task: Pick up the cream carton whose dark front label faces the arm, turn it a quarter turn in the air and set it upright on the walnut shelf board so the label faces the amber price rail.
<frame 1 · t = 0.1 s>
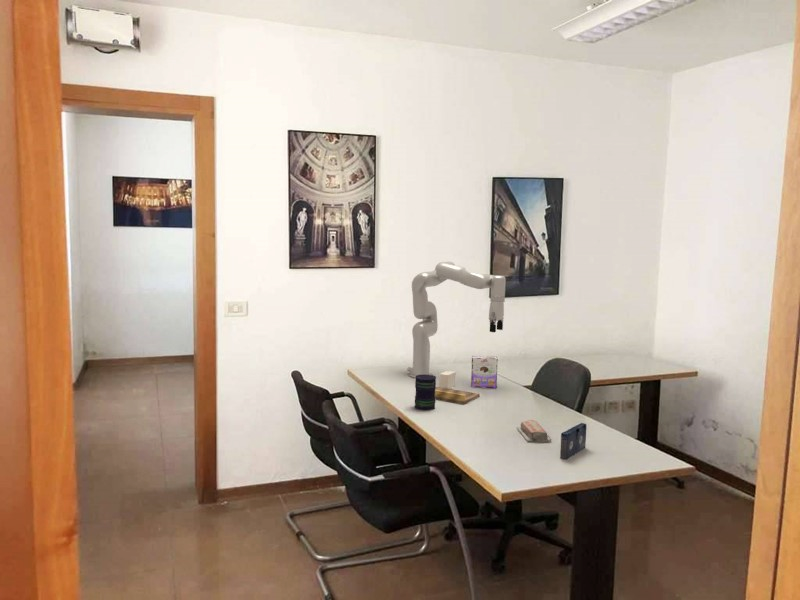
hand: (496, 330, 345), 31 cm above the table, tool pointing down, fingers open, 9 cm apart
vhs cassette tape: (572, 453, 251), on the table
candy box: (483, 386, 352), on the table
packaged product: (533, 436, 271), on the table
shelf board: (450, 396, 329), on the table
storage jar: (424, 408, 308), on the table
cream carton: (447, 387, 348), on the table
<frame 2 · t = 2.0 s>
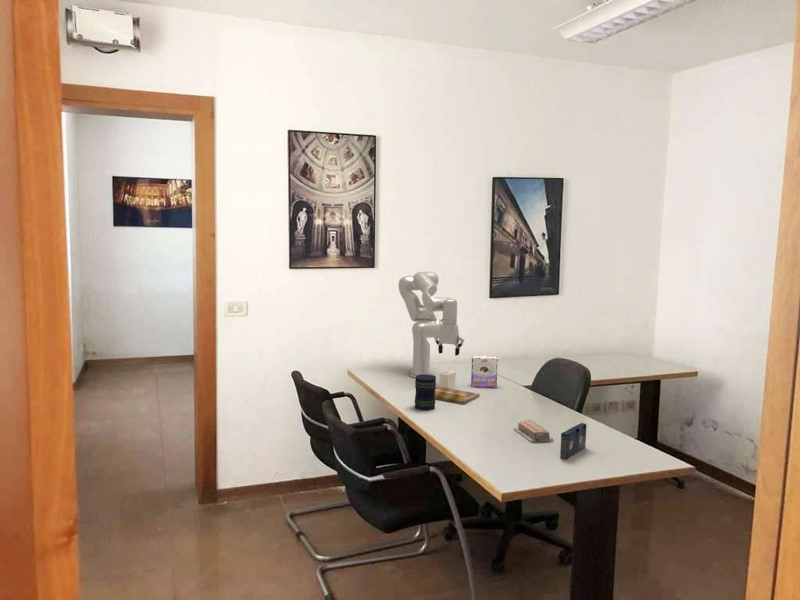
hand: (448, 354, 345), 18 cm above the table, tool pointing down, fingers open, 9 cm apart
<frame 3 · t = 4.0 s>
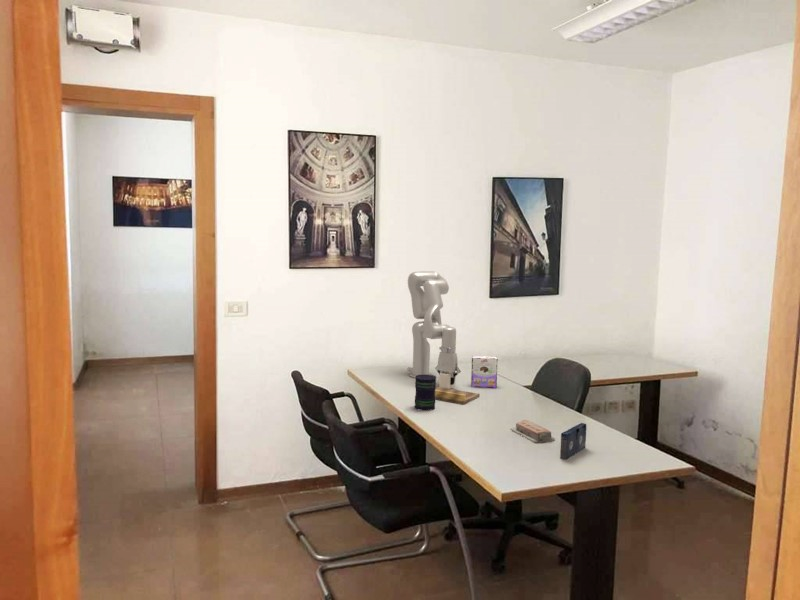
hand: (447, 383, 347), 2 cm above the table, tool pointing down, fingers closed on cream carton, 5 cm apart
cream carton: (447, 387, 347), on the table, touching gripper
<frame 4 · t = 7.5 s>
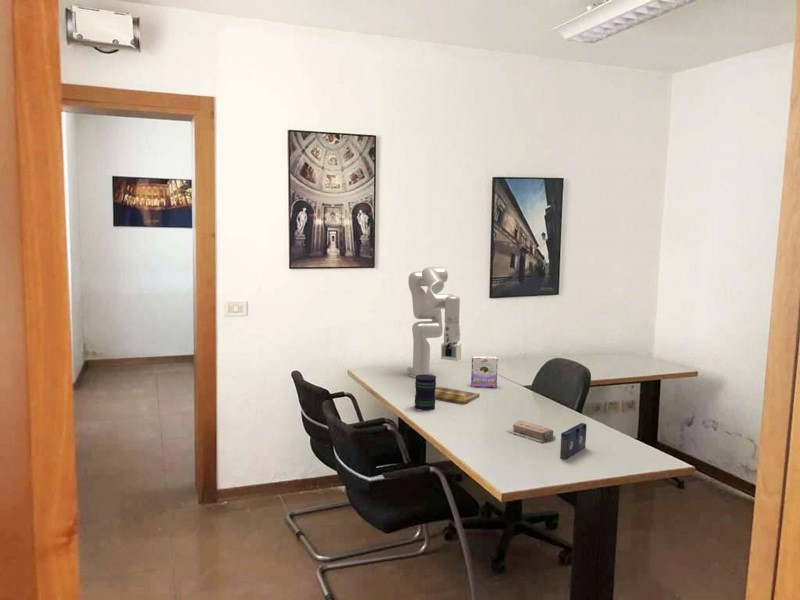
hand: (450, 354, 333), 20 cm above the table, tool pointing down, fingers closed on cream carton, 5 cm apart
cream carton: (450, 359, 334), point 18 cm above the table, touching gripper
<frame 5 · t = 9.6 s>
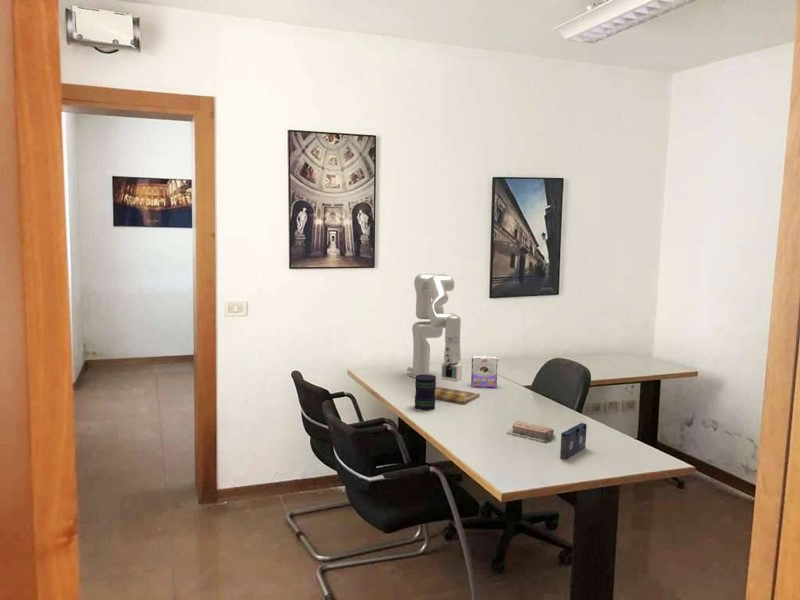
hand: (451, 375, 327), 11 cm above the table, tool pointing down, fingers closed on cream carton, 5 cm apart
cream carton: (451, 379, 328), point 9 cm above the table, touching gripper
when the fingers open (6 cm above the table, at t = 11.4 s): cream carton drops 2 cm, resting on shelf board.
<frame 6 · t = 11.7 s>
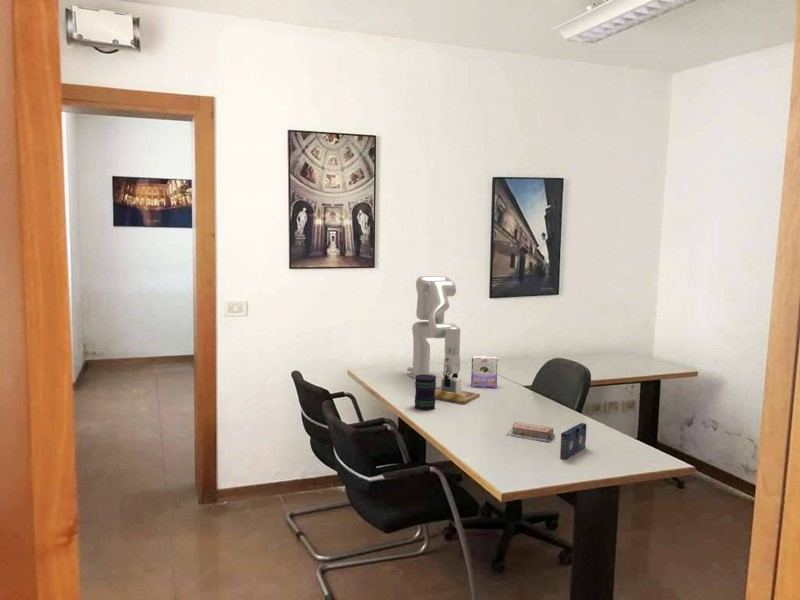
hand: (450, 384, 328), 6 cm above the table, tool pointing down, fingers open, 7 cm apart
cream carton: (450, 393, 329), point 1 cm above the table, touching shelf board
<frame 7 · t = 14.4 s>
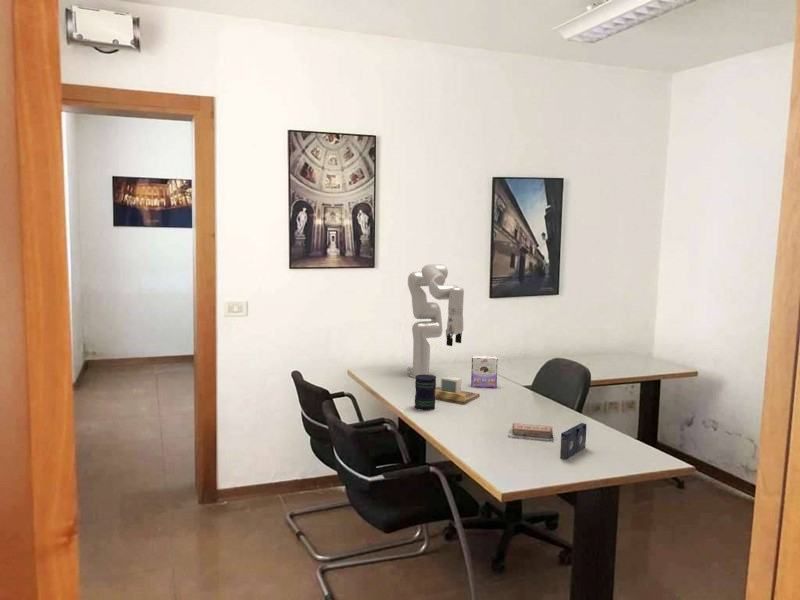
hand: (453, 344, 334), 26 cm above the table, tool pointing down, fingers open, 9 cm apart
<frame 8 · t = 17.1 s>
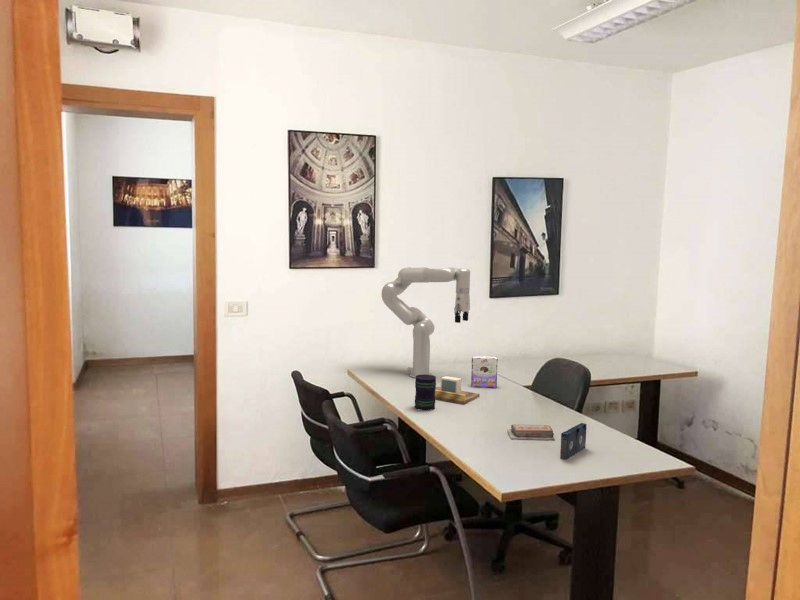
hand: (461, 321, 361), 33 cm above the table, tool pointing down, fingers open, 9 cm apart
at the end: cream carton inside the target area on the shelf board (0.3 cm from its centre), point 1.5 cm above the shelf board's base; cream carton tilted 0°; the gripper is holding nothing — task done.
